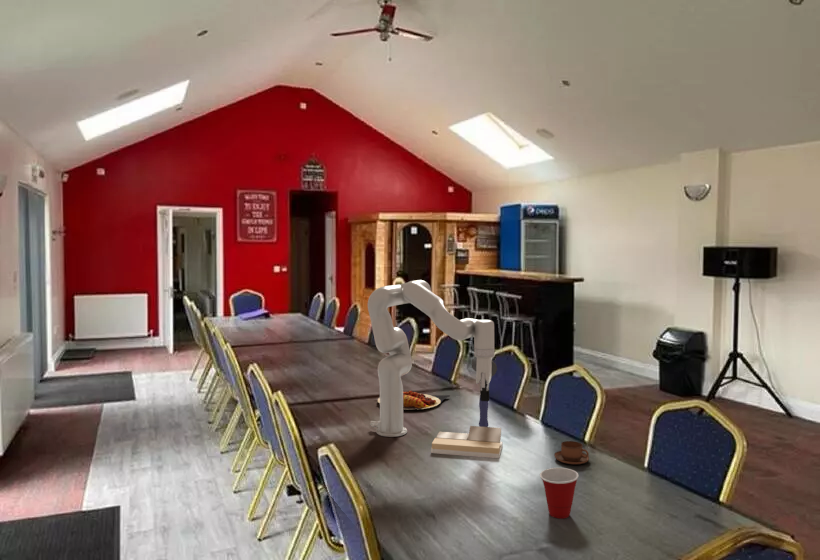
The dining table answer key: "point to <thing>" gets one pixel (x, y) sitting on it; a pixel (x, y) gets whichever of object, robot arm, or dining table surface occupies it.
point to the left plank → (453, 435)
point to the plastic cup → (559, 490)
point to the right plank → (484, 434)
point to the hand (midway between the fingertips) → (484, 400)
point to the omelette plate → (420, 400)
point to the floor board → (466, 448)
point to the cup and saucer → (572, 453)
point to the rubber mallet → (484, 404)
